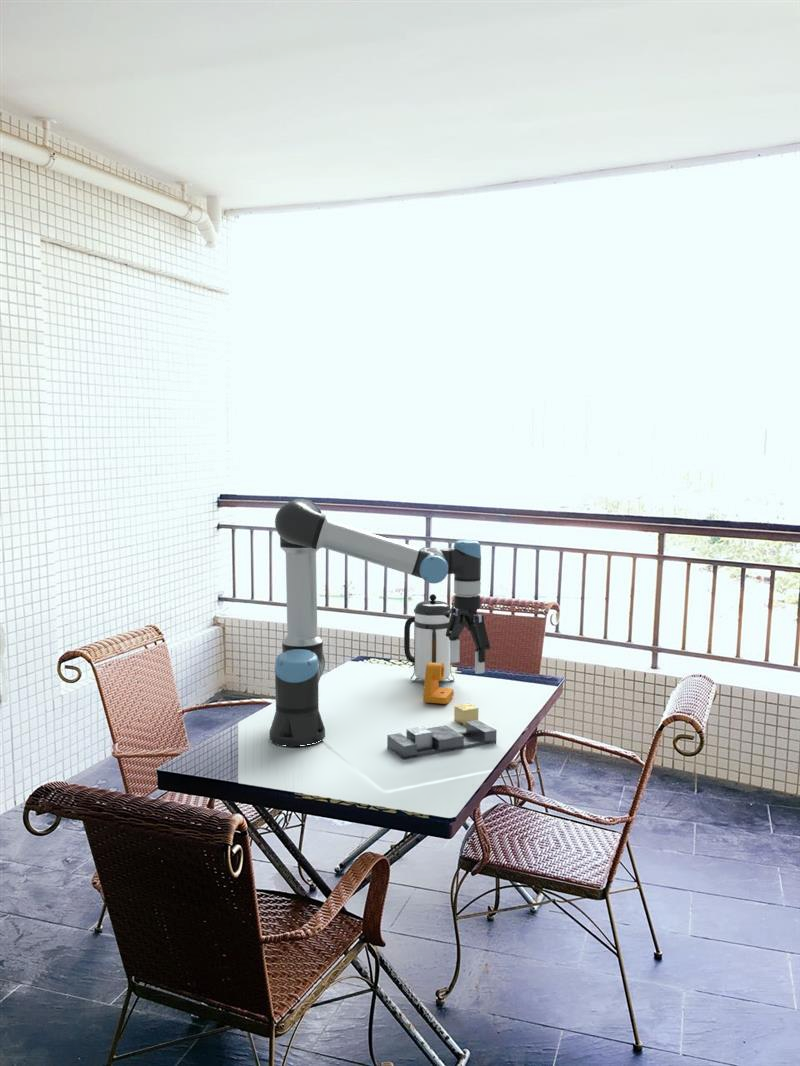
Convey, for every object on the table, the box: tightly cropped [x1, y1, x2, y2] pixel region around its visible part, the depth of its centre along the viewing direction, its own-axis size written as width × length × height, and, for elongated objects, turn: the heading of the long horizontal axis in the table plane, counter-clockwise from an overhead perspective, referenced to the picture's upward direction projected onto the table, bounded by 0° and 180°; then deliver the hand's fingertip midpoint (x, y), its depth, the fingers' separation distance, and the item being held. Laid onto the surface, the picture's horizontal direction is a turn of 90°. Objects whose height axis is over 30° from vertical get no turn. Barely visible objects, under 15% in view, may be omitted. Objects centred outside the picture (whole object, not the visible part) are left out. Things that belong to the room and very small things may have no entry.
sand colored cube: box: [453, 703, 479, 728], centre depth 249 cm, size 5×5×5 cm
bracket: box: [422, 662, 455, 705], centre depth 271 cm, size 11×7×12 cm, turn 162°
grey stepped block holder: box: [386, 719, 498, 760], centre depth 230 cm, size 28×10×4 cm, turn 117°
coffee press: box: [403, 593, 455, 682], centre depth 292 cm, size 17×16×30 cm
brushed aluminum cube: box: [405, 726, 432, 752], centre depth 226 cm, size 5×5×5 cm
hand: (467, 667), depth 248 cm, fingers open, 13 cm apart
